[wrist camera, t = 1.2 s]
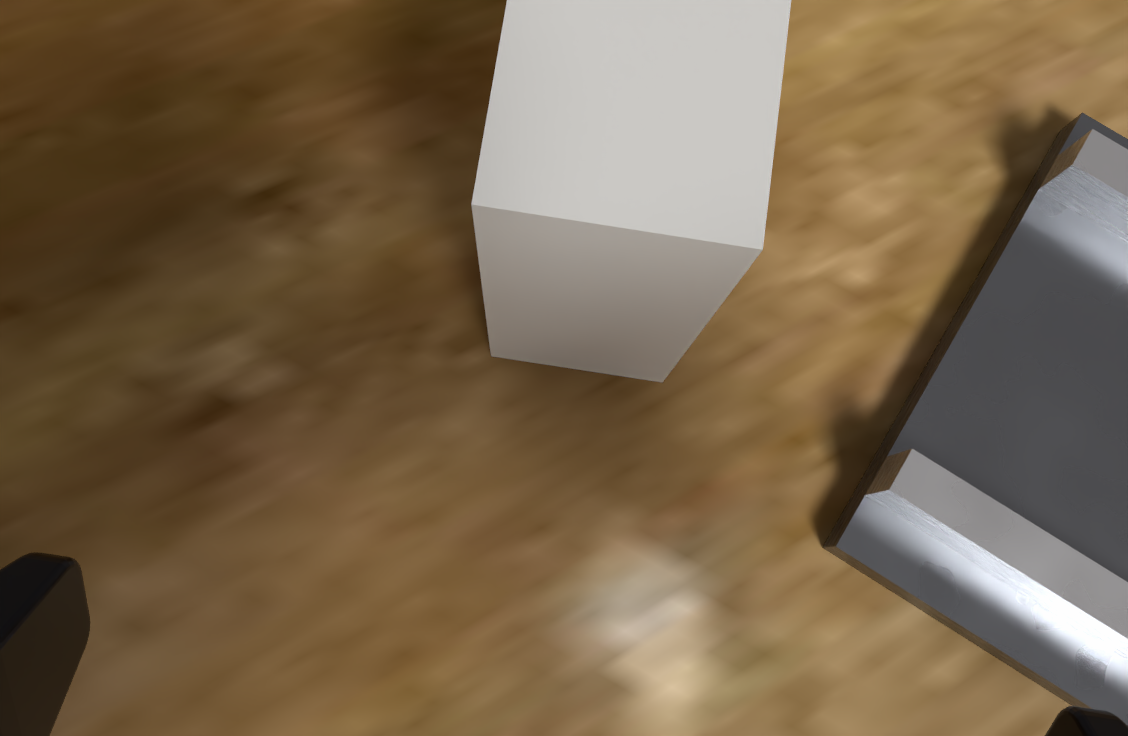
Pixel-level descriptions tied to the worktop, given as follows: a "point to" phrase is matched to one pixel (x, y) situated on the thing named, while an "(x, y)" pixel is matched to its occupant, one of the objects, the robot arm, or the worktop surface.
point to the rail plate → (1022, 443)
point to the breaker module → (624, 175)
